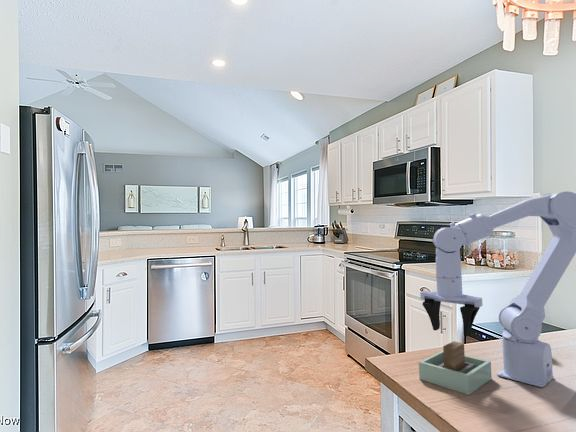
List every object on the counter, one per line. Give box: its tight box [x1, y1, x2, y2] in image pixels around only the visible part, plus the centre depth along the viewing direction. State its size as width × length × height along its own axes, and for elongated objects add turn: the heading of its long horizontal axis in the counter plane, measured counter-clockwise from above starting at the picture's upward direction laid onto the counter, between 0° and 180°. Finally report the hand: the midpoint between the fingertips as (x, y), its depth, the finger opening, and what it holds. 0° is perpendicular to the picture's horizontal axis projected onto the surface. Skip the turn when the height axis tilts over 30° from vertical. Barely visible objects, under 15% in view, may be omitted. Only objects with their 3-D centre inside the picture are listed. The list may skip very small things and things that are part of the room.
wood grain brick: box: [442, 341, 466, 372], centre depth 89 cm, size 2×5×8 cm, turn 130°
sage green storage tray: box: [418, 349, 493, 396], centre depth 89 cm, size 12×12×4 cm
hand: (451, 332), depth 93 cm, fingers open, 7 cm apart
